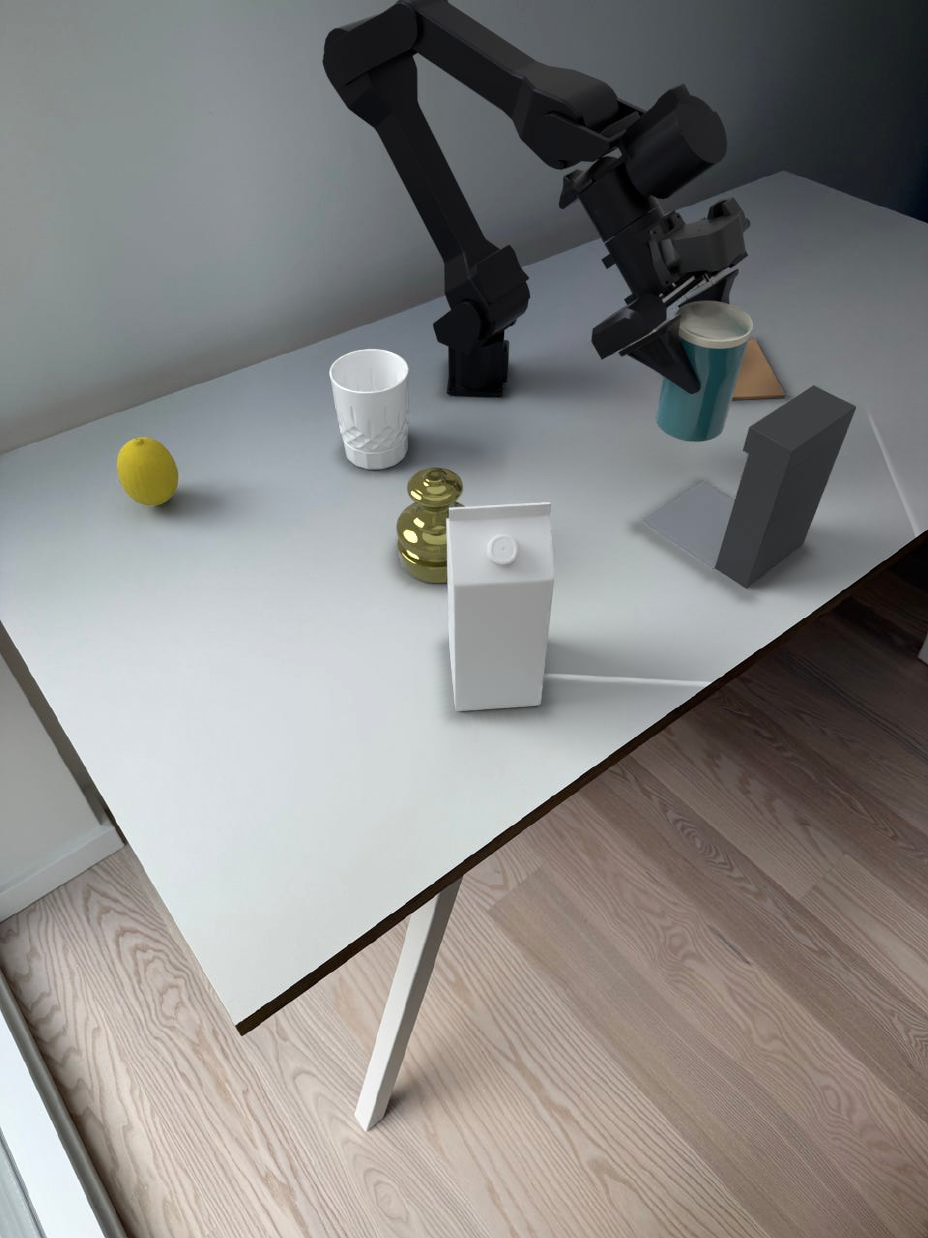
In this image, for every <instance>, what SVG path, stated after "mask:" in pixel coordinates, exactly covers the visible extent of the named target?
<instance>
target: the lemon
mask: <svg viewBox="0 0 928 1238" xmlns="http://www.w3.org/2000/svg"><path fill="white" fill-rule="evenodd" d="M116 469H117V477H118V480H119V482H120V484H121V487H122V488H123V490H124V492H125V493H126V494H127V495H128V497H130V498H131V499H132V500H133V501H134V502H137V503H138V504H141V505H145V506H150V507H151V506H153V507H154V506H160V505H162V504H164V503H167V501H169V500H170V499H171V498H172V497H173V496H174V495H175V493H176V491H177V489H178V485H179V471H178V467H177V463H176V461H175V458H174V457H173V455H172V453H171V452H170V451H169V449H168V448H167V447H166V446H165V445H164V444H163V443H161V442H160V441H158V440H157V439H155V438H151V437H145V436H143V437H141V436H140V437H135V438H132V439H131V440H129V441H127V442H126V443H125V444H124V445H123V446H122V447H121V449H120V450H119V452H118V455H117V459H116Z"/></svg>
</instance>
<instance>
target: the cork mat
mask: <svg viewBox="0 0 928 1238" xmlns="http://www.w3.org/2000/svg"><path fill="white" fill-rule="evenodd" d="M784 398H786V393H785V391H784V389H783V388H782V386H781V384H780V382H779V380H778V378H777V377H776V374H775V373H774V371H773V369H772V367H771V365H770V364H769V362H768V360H767V358H766V356H765V354H764V352H763V351H762V349H761V347H760V345H759V344H758V341H757V340H756V339H755V338H753V339H751V338H750V339H748V343H747V347H746V350H745V354H744V358H743V361H742V365H741V369H740V372H739V376H738V380H737V383H736V387H735V391H734V394H733V398H732V401H741V400H742V401H743V400H761V399H762V400H763V399H764V400H765V399H784Z"/></svg>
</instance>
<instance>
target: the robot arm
mask: <svg viewBox="0 0 928 1238" xmlns="http://www.w3.org/2000/svg"><path fill="white" fill-rule="evenodd" d="M416 55H420V56H421V57H423V58H424V59H426V60H427V61H428V62H430V63H432V64H433V65H434V66H435V67H437V68H438V69H440V70H442V71H443V72H444V73H446V74H448V75H449V76H450V77H452V78H454V79H455V80H456V81H458V82H459V83H460V84H462V85H464V86H465V87H467V88H468V89H469V90H471V91H472V92H474V93H475V94H476V95H478V96H479V97H481V98H482V99H484V100H486V101H487V102H488V103H490V104H491V105H493V106H495V108H497V109H499V110H500V111H502V112H503V113H504V114H505V115H506V116H507V117H508V118H509V119H510V120H511V121H512V122H513V125H514V128H515V131H516V132H517V134H518V137H519V139H520V140H521V142H522V143H523V144H524V145H525V146H526V147H527V148H529V150H530V151H531V152H533V154H535V156H537V157H538V158H539V159H540V160H541V161H542V162H543V163H544V164H545V165H546V166H547V167H549V168H552V169H554V170H559V171H563V170H565V169H569V168H573V167H575V166H576V165H578V164H580V163H581V162H583V163H584V162H585V163H592V164H591V165H590V166H589V167H588V168H586V169H585V170H581V169H579V168H575V169H574V170H572V171H570V172H568V173H566V174H565V175H563V176H562V189H561V192H560V195H559V201H558V208H559V209H561V210H565V209H567V208H569V207H570V206H571V205H574V204H576V202H578V201H579V202H580V204H581V206H582V207H583V210H585V212H586V214H587V217H588V218H589V220H590V221H591V223H592V225H593V227H594V229H595V230H596V232H597V235H599V237H600V239H601V241H602V242H603V245H604V247H605V249H606V250H607V252H608V254H607V255H606V256H604V257H603V258H601V262H602V263H603V266H604V268H605V269H606V270H608V269H610V268H611V267H613V266H614V265H615V266H616V269H618V271H619V273H620V275H621V277H622V278H623V280H624V282H625V284H626V285H627V287H628V289H629V292H630V293H631V294H629V295H628V296H626V297H625V298H624V299H623V301H624V302H625V304H626V305H625V306H623V307H622V308H620V309H618V310H617V311H615V312H613V313H612V314H610V315H609V316H608V317H606V318H605V319H603V320H602V321H601V322H599V323H598V324H597V325H595V326H594V327H593V328H592V332H591V339H590V343H591V344H592V346H593V348H594V349H595V351H596V353H597V355H598V356H599V358H600V360H602V361H603V360H604V359H606V358H608V357H610V356H612V355H614V354H616V353H618V355H619V356H620V357H621V358H622V357H625V356H628V357H630V358H631V359H633V360H635V361H637V362H638V363H641V364H643V365H644V366H646V367H648V368H650V370H651V369H652V370H653V371H654V372H656V373H657V374H659V375H660V376H662V377H665V378H667V379H668V380H670V381H671V382H673V383H674V384H676V385H677V386H679V387H680V388H682V389H683V390H685V391H686V392H688V393H689V394H694V393H696V392H699V391H700V389H701V387H700V384H699V381H698V379H697V376H696V373H695V371H694V369H693V367H692V365H691V363H690V361H689V358H688V356H687V354H686V352H685V350H684V348H683V346H682V344H681V341H680V339H679V328H680V322H681V315H679V316H677V317H675V316H674V317H675V318H674V317H673V318H672V319H670V317H669V316H668V311H667V310H668V308H669V307H671V306H672V305H673V304H675V303H676V302H678V300H680V299H681V298H682V297H683V296H684V298H685V299H684V300H683V301H681V303H679V304H678V305H677V308H678V309H679V308H680V307H682V306H684V305H686V304H688V303H692V302H696V301H717V302H723V303H727V304H730V305H731V303H730V293H731V290H732V288H733V286H734V282H735V279H736V277H738V275H739V274H740V272H739V271H740V270H739V268H736V269H734V270H732V271H731V272H728V273H726V271H725V270H726V269H728V268H729V269H732V268H733V267H736V266H737V265H738V264H740V263H741V262H743V260H745V259H746V258H747V257H749V253H748V252H747V250H746V249H747V247H746V243H745V237H744V233H745V232H746V231H747V230H748V229H750V227H751V221H750V219H749V218H747V217H746V214H745V211H744V210H743V209H742V207H741V206H740V204H739V203H738V201H737V200H736V198H735V197H727V198H722V199H719V200H717V201H716V202H715V203H713V204H712V205H711V206H709V208H708V211H707V217H701V218H700V219H698V220H696V221H694V222H689V223H686V222H685V221H684V219H683V216H682V215H681V214H680V212H676V209H673V210H672V211H670V212H668V213H667V214H665V211H664V210H663V208H662V206H661V205H660V202H659V200H665V199H669V198H671V197H672V196H674V195H675V194H677V193H678V192H679V191H681V190H682V189H684V188H685V187H687V186H688V185H689V184H691V183H692V182H694V181H696V180H697V179H698V178H700V177H701V176H702V175H704V174H705V173H706V172H708V171H709V170H710V169H712V168H714V167H715V166H716V165H718V164H720V163H721V162H722V161H723V159H724V158H725V157H726V154H727V151H728V138H727V133H726V128H725V125H724V123H723V121H722V119H721V116H720V115H719V113H718V112H717V111H715V110H713V109H712V108H711V106H710V105H709V104H708V103H707V102H705V100H703V99H701V98H700V97H698V96H695V95H692V94H691V93H690V91H689V90H688V87H687V85H686V84H685V83H684V82H679V83H678V84H676V85H674V86H672V87H671V88H669V89H667V91H665V92H664V93H663V94H662V95H660V96H659V97H658V99H657V100H656V102H655V103H654V104H653V105H652V107H650V108H649V109H648V110H646V109H644V108H641V107H639V106H637V105H635V104H632V103H630V102H629V101H626V100H624V99H622V98H620V97H619V96H618V95H617V94H616V92H615V91H614V89H613V88H612V87H611V85H609V84H608V83H607V82H605V81H603V80H601V79H599V78H597V77H594V76H591V75H589V74H586V73H583V72H581V71H578V70H576V69H572V68H566V67H560V66H552V65H549V64H545V63H542V62H541V61H538V60H536V59H534V58H533V57H531V56H529V55H528V54H527V53H525V52H523V51H522V50H521V49H519V48H518V47H516V46H515V45H513V44H512V43H510V42H509V41H507V40H506V39H504V38H503V37H501V36H500V35H498V34H497V33H495V32H493V31H492V30H491V29H489V28H488V27H486V26H485V25H483V24H481V23H480V22H478V21H477V20H476V19H474V18H472V17H471V16H469V14H466V13H465V12H463V11H462V10H461V9H459V8H457V7H456V6H454V5H453V4H451V2H449V0H397V1H395V3H394V4H393V5H392V6H390V7H388V8H387V9H385V10H384V11H383V12H381V13H376V14H373V15H371V16H366V17H365V18H362V19H358V20H355V21H352V22H350V23H347V24H343V25H341V26H338V27H334V28H333V29H331V30H330V31H329V32H328V34H327V35H326V37H325V40H324V44H323V54H322V61H321V63H322V66H323V70H324V73H325V75H326V78H327V79H328V81H329V82H330V84H331V86H332V87H333V89H334V90H335V92H336V93H337V94H338V96H339V98H340V99H341V101H342V102H343V104H344V105H345V107H346V109H348V110H349V111H350V112H352V114H354V115H356V116H357V117H358V118H359V119H361V120H363V121H364V122H365V123H366V124H368V125H369V126H370V127H372V128H373V129H374V130H375V131H376V133H377V135H378V138H379V139H380V140H381V143H382V145H383V147H384V148H385V151H386V153H387V154H388V156H389V159H390V160H391V162H392V164H393V166H394V168H395V170H396V172H397V173H398V176H399V178H400V179H401V182H402V184H403V185H404V187H405V189H406V191H407V193H408V195H409V198H410V200H411V201H412V204H413V205H414V207H415V209H416V210H417V212H418V215H419V216H420V219H421V220H422V222H423V224H424V226H425V228H426V230H427V233H428V234H429V236H430V238H431V240H432V241H433V244H434V245H435V248H436V250H437V251H438V253H439V256H440V257H441V260H442V262H443V271H444V272H443V275H444V276H443V278H444V279H443V281H444V282H443V283H444V289H443V290H444V296H445V298H446V301H447V303H448V306H449V309H450V310H449V311H447V312H446V313H444V314H443V315H442V316H441V317H440V318H438V319H437V320H435V321H434V322H433V323H432V327H433V331H434V334H435V335H434V336H435V338H436V341H437V342H438V343H440V344H441V345H444V346H446V347H447V362H448V363H447V364H448V365H447V366H448V377H447V383H446V394H447V395H451V396H476V397H477V396H478V397H480V396H481V397H502V396H503V394H504V385H505V384H507V383H508V379H509V360H510V340H508V339H505V331H506V330H507V329H509V328H510V327H513V326H515V325H516V323H517V321H518V319H519V318H520V317H522V316H523V315H524V314H526V311H527V310H528V306H529V300H530V299H531V293H530V292H531V291H530V288H529V285H528V282H527V281H529V280H530V276H529V275H528V274H527V273H526V272H525V271H524V269H523V268H522V266H521V264H520V262H519V259H518V256H517V253H516V251H515V249H514V248H513V247H512V246H511V245H510V244H507V245H505V246H503V247H502V248H499V247H498V246H496V245H495V244H493V243H492V242H491V241H489V239H487V238H486V237H485V235H484V233H483V231H482V229H481V227H480V225H479V223H478V221H477V219H476V217H475V215H474V213H473V211H472V209H471V207H470V205H469V203H468V201H467V199H466V197H465V195H464V193H463V190H462V189H461V187H460V185H459V182H458V181H457V179H456V177H455V175H454V173H453V171H452V169H451V167H450V165H449V163H448V161H447V158H446V156H445V154H444V152H443V150H442V149H441V146H440V144H439V142H438V141H437V138H436V137H435V134H434V132H433V130H432V128H431V126H430V124H429V122H428V120H427V118H426V116H425V114H424V112H423V109H422V108H421V105H420V103H419V92H418V91H419V88H418V87H419V86H418V84H419V83H418V82H419V81H418V80H419V79H418V67H417V64H416V61H415V59H414V56H416ZM616 150H619V152H620V154H621V155H620V156H618V157H615V156H611V155H608V154H611V153H612V152H614V151H616ZM658 199H659V200H658Z"/></svg>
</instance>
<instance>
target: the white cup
mask: <svg viewBox="0 0 928 1238" xmlns="http://www.w3.org/2000/svg"><path fill="white" fill-rule="evenodd" d="M409 368H410V367H409V365H408V363H407V361H406V360H405V359H404V358H403V357H402V356H400V355H399V354H397V353H395V352H392V351H389V350H385V349H380V348H379V349H378V348H366V349H365V348H364V349H358V350H354V351H351V352H347V353H346V354H343V355H342V356H340V357H338V358H337V359H336V360H334V362H333V363H332V364H331V366H330V368H329V373H328V374H329V380H330V384H331V385H330V386H331V391H332V395H333V403H334V406H335V412H336V416H337V423H338V426H339V431H340V436H342V441H343V448H344V453H345V455H346V459H347V460H348V461H349V462H351V463H352V464H353V465H354V466H355V467H359V468H362V469H365V470H385V469H388V468H391V467H394V466H396V465H398V464H399V463H400V462H401V461H403V460H404V459H405V457H406V455H407V452H408V450H409V439H408V438H409V436H408V433H409V423H410V422H409V415H410V388H409V386H410V385H409V382H410V379H409V378H410V375H409V374H410V373H409V372H410V371H409Z"/></svg>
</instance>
